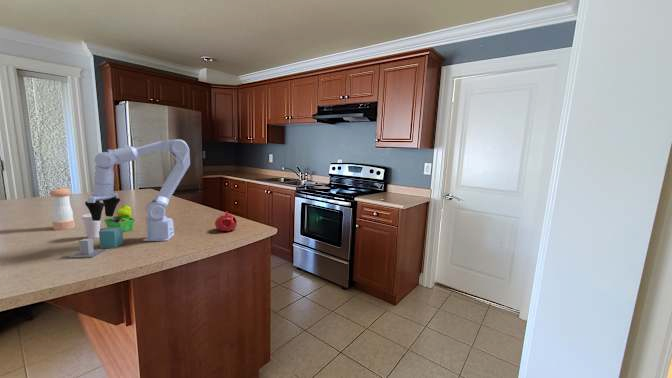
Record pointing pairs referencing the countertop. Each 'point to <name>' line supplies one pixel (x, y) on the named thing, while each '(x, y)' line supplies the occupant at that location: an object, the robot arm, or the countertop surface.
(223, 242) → the countertop surface
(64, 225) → the salt shaker
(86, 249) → the grey square base plate
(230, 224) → the pomegranate
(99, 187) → the robot arm
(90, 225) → the smoothie
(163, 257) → the countertop surface
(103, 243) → the teal foam brick
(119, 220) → the fruit basket
